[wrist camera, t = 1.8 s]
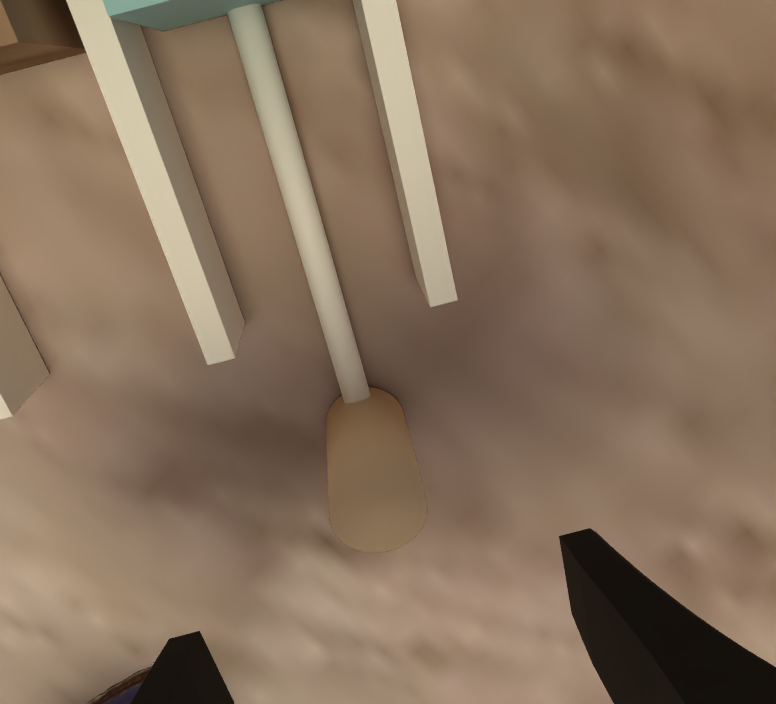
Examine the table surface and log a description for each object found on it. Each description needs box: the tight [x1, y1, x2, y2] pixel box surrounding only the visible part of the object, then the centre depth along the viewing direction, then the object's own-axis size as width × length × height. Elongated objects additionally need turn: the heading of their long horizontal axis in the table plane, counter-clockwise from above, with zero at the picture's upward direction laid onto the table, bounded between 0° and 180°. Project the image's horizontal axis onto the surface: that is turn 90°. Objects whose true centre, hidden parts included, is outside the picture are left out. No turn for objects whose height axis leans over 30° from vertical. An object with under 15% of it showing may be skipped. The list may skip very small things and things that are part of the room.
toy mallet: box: [103, 0, 428, 553], centre depth 15 cm, size 4×17×4 cm, turn 13°
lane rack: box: [0, 0, 458, 419], centre depth 15 cm, size 12×14×2 cm
